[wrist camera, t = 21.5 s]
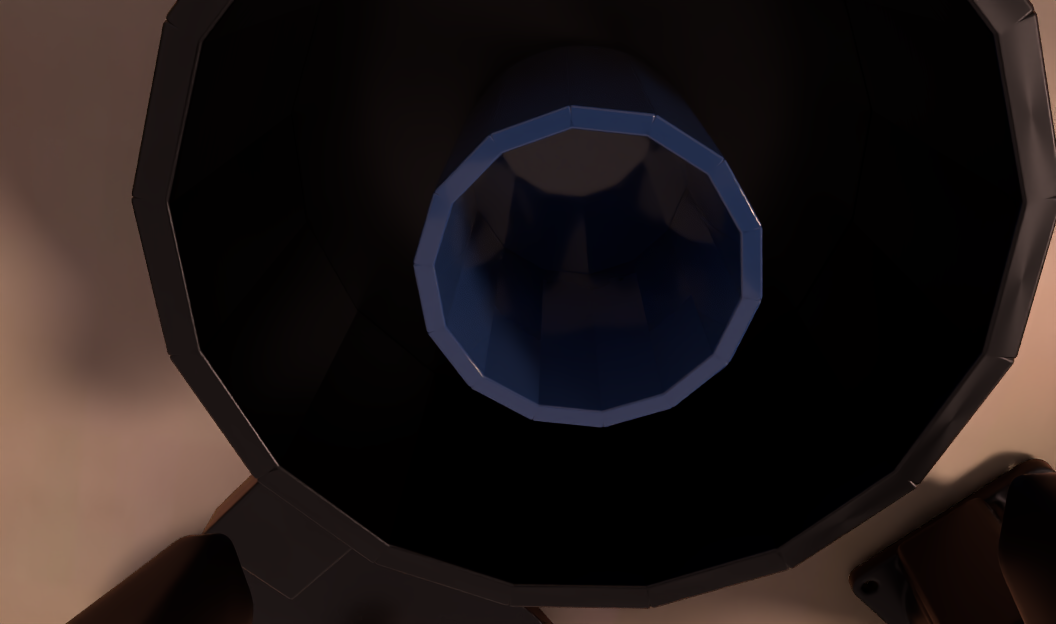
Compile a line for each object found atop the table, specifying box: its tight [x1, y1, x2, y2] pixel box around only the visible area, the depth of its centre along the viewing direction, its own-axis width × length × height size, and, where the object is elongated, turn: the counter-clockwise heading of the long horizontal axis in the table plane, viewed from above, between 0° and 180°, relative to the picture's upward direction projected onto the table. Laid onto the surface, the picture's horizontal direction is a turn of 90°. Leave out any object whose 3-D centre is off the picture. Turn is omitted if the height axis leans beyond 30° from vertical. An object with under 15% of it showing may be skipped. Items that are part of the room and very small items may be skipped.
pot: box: [132, 0, 1056, 609], centre depth 16 cm, size 14×20×7 cm
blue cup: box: [413, 45, 763, 427], centre depth 16 cm, size 6×6×6 cm
